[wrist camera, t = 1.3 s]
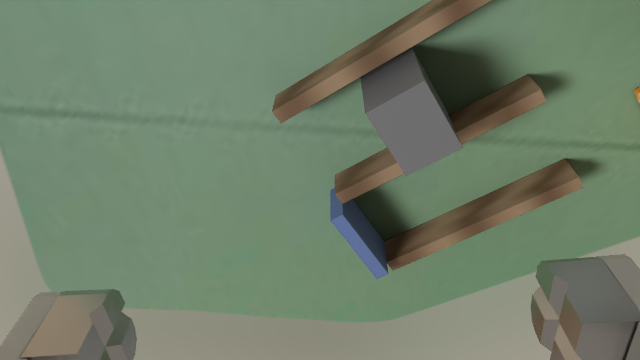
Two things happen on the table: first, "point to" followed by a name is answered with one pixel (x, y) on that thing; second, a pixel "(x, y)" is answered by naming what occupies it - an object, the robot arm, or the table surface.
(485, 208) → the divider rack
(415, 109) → the plug block
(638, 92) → the supplement box
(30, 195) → the table surface
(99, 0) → the table surface
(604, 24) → the table surface
